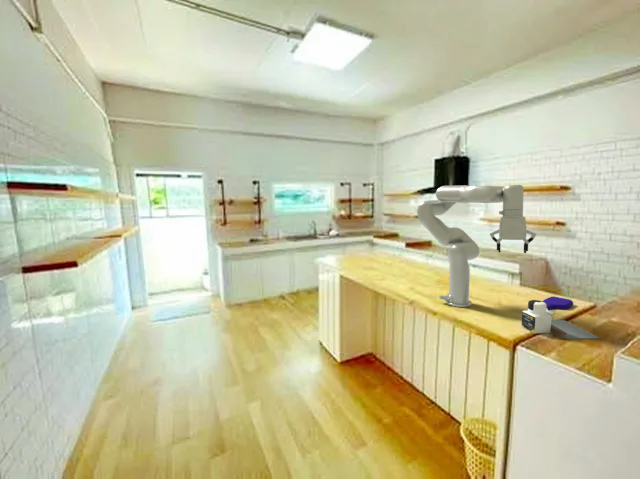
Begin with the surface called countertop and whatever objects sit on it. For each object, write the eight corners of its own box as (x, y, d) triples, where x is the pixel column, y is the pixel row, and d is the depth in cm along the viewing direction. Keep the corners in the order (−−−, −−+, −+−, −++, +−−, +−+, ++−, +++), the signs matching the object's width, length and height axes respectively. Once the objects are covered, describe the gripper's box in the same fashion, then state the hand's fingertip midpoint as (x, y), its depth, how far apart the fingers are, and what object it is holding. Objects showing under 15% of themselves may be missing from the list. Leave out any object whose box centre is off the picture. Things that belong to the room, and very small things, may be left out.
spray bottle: (550, 295, 163) (529, 305, 149) (575, 300, 154) (556, 311, 140) (549, 300, 163) (528, 311, 149) (575, 306, 154) (555, 318, 140)
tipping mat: (562, 339, 118) (562, 332, 117) (531, 321, 136) (531, 315, 135) (599, 338, 117) (600, 332, 117) (563, 320, 135) (564, 315, 135)
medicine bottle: (521, 326, 130) (522, 299, 129) (537, 325, 130) (538, 298, 129) (534, 333, 123) (535, 304, 121) (550, 332, 123) (552, 303, 122)
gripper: (490, 214, 136) (489, 252, 138) (537, 213, 128) (536, 254, 130) (490, 213, 143) (489, 250, 144) (535, 212, 134) (534, 251, 136)
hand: (511, 252), depth 137 cm, fingers open, 9 cm apart
